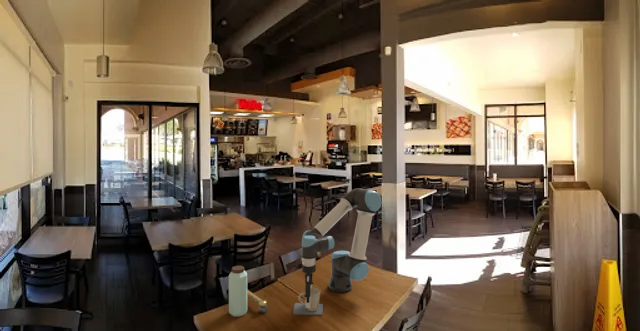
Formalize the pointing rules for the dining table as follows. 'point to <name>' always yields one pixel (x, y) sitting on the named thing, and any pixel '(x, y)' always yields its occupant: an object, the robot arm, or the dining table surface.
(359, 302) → the dining table surface
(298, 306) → the mat
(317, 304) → the mug
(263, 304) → the lever
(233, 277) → the water bottle
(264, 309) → the lever post
